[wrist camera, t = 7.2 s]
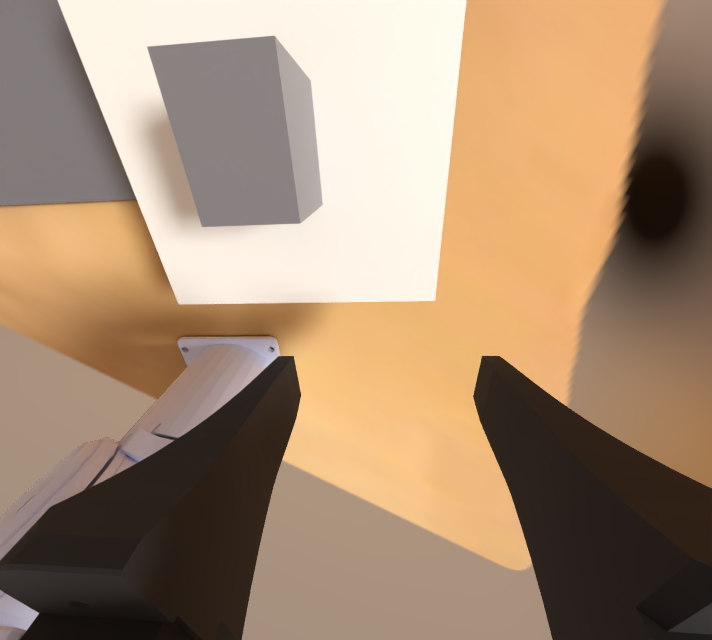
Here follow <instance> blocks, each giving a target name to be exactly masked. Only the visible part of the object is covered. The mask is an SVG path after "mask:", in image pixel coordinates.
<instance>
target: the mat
mask: <svg viewBox="0 0 712 640" xmlns="http://www.w3.org/2000/svg"><path fill="white" fill-rule="evenodd" d="M115 200H137V199H136V196H135V194H134V191H133V189H132V186H131V184H130V181H129V179H128V176H127V174H126V171H125V169H124V166H123V164H122V161H121V159H120V156H119V154H118V151H117V149H116V146H115V144H114V141H113V139H112V136H111V134H110V131H109V128H108V126H107V123H106V121H105V118H104V116H103V113H102V111H101V108H100V106H99V103H98V101H97V98H96V96H95V93H94V91H93V88H92V86H91V83H90V81H89V78H88V76H87V73H86V71H85V68H84V66H83V63H82V61H81V58H80V56H79V53H78V51H77V48H76V46H75V43H74V41H73V38H72V36H71V33H70V31H69V28H68V26H67V23H66V21H65V18H64V15H63V13H62V10H61V8H60V5H59V3H58V0H0V206H4V205H26V204H49V203H71V202H93V201H115Z"/></svg>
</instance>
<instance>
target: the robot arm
mask: <svg viewBox="0 0 712 640" xmlns="http://www.w3.org/2000/svg"><path fill="white" fill-rule="evenodd" d="M177 344H178V347H179V349H180V351H181V354H182V356H183V358H184V361H185V363H186V365H187V368H186V369H185V370H184V371H183V372H182V373H181V374H180V375H179V377H178V378H177V379H176V380H175V381H174V382H173V383H172V384H171V385H170V386H169V387H168V389H167V390H166V391H165V392H164V393H163V394H162V395H161V396H160V397H159V398H158V400H157V401H156V402H155V403H154V404H153V405H152V406H151V407H150V408H149V409H148V410H147V412H146V413H145V414H144V415H143V416H142V417H141V418H140V419H139V420H138V421H137V423H136V424H135V425H134V426H133V427H132V428H131V429H130V430H129V431H128V433H127V434H126V435H125V436H124V437H123V438H122V439H121V440H120V441H119V442H116V441H114V440H113V439H111V438H109V437H106V438H102V439H100V440H96V441H90V442H86V443H84V444H82V445H81V446H79V447H78V448H77V449H75V450H74V451H73V452H71V453H70V454H69V455H68V456H66V457H65V458H64V459H63V460H62V461H60V462H59V463H58V464H57V465H56V466H55V467H53V468H52V469H51V470H50V471H49V472H48V473H47V474H46V475H44V476H43V477H42V478H41V479H40V480H39V481H38V482H36V483H35V484H34V485H33V486H32V487H31V488H30V489H29V490H28V491H27V492H25V493H24V494H23V495H22V496H21V497H20V498H19V499H18V500H17V501H16V502H15V503H13V504H12V505H11V506H10V507H9V508H8V509H7V510H6V511H5V512H4V513H3V514H2V515H1V516H0V640H242V634H243V628H244V622H245V617H246V612H247V606H248V601H249V596H250V590H251V585H252V580H253V575H254V570H255V565H256V560H257V555H258V550H259V546H260V541H261V537H262V532H263V528H264V524H265V519H266V515H267V511H268V506H269V502H270V498H271V494H272V490H273V486H274V483H275V479H276V476H277V473H278V470H279V467H280V464H281V461H282V458H283V456H284V453H285V450H286V447H287V444H288V441H289V438H290V435H291V432H292V429H293V426H294V423H295V420H296V417H297V412H298V408H299V402H300V397H301V392H300V387H299V382H298V377H297V371H296V366H295V361H294V356H281V354H280V350H279V345H278V341H277V339H276V338H274V337H271V336H245V337H181V338H180V339H179V340H178V341H177ZM185 347H186V348H188V349H186V348H185ZM270 347H273V348H274V349H271V348H270ZM473 397H474V401H475V405H476V408H477V412H478V415H479V419H480V422H481V424H482V427H483V429H484V431H485V434H486V436H487V439H488V441H489V443H490V446H491V448H492V450H493V452H494V455H495V457H496V459H497V462H498V464H499V466H500V469H501V471H502V473H503V476H504V478H505V480H506V483H507V485H508V488H509V491H510V493H511V496H512V499H513V502H514V505H515V508H516V511H517V514H518V518H519V521H520V524H521V527H522V530H523V533H524V537H525V540H526V543H527V547H528V550H529V553H530V557H531V560H532V564H533V567H534V571H535V574H536V578H537V581H538V585H539V589H540V592H541V596H542V599H543V603H544V607H545V611H546V615H547V619H548V623H549V627H550V631H551V635H552V639H553V640H712V488H709V487H707V486H705V485H703V484H701V483H699V482H697V481H695V480H693V479H691V478H689V477H687V476H685V475H683V474H681V473H679V472H677V471H675V470H673V469H671V468H669V467H667V466H665V465H663V464H661V463H660V462H658V461H656V460H654V459H652V458H650V457H648V456H646V455H645V454H643V453H641V452H639V451H637V450H636V449H634V448H632V447H630V446H628V445H627V444H625V443H623V442H621V441H620V440H618V439H616V438H615V437H613V436H611V435H610V434H608V433H606V432H605V431H603V430H602V429H600V428H598V427H597V426H595V425H593V424H592V423H590V422H589V421H587V420H586V419H584V418H583V417H581V416H580V415H578V414H577V413H575V412H574V411H572V410H571V409H569V408H568V407H566V406H565V405H564V404H562V403H561V402H559V401H558V400H557V399H555V398H554V397H552V396H551V395H550V394H548V393H547V392H546V391H544V390H543V389H542V388H540V387H539V386H538V385H536V384H535V383H534V382H532V381H531V380H530V379H529V378H527V377H526V376H525V375H523V374H522V373H521V372H520V371H518V370H517V369H516V368H514V367H513V366H512V365H511V364H509V363H508V362H507V361H505V360H504V359H503V358H501V357H500V356H482V359H481V364H480V368H479V373H478V377H477V382H476V387H475V391H474V396H473Z"/></svg>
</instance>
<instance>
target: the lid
mask: <svg viewBox="0 0 712 640" xmlns="http://www.w3.org/2000/svg"><path fill="white" fill-rule="evenodd" d="M58 3H59V5H60V8H61V10H62V13H63V15H64V18H65V21H66V23H67V26H68V28H69V31H70V33H71V36H72V38H73V41H74V43H75V46H76V48H77V51H78V53H79V56H80V58H81V61H82V63H83V66H84V68H85V71H86V73H87V76H88V78H89V81H90V83H91V86H92V88H93V91H94V93H95V96H96V98H97V101H98V103H99V106H100V108H101V111H102V113H103V116H104V118H105V121H106V123H107V126H108V128H109V131H110V134H111V136H112V139H113V141H114V144H115V146H116V149H117V151H118V154H119V156H120V159H121V161H122V164H123V166H124V169H125V171H126V174H127V176H128V179H129V181H130V184H131V186H132V189H133V191H134V194H135V196H136V199H137V201H138V204H139V206H140V209H141V211H142V214H143V216H144V219H145V221H146V224H147V226H148V229H149V231H150V234H151V236H152V239H153V241H154V244H155V247H156V249H157V252H158V254H159V257H160V259H161V262H162V264H163V267H164V269H165V272H166V274H167V277H168V279H169V282H170V284H171V287H172V289H173V292H174V294H175V297H176V299H177V302H178V304H247V303H318V302H388V301H435V295H436V286H437V276H438V267H439V257H440V247H441V238H442V228H443V219H444V209H445V200H446V190H447V180H448V171H449V161H450V152H451V142H452V133H453V123H454V114H455V104H456V94H457V85H458V75H459V66H460V56H461V47H462V37H463V28H464V18H465V8H466V0H58Z"/></svg>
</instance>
